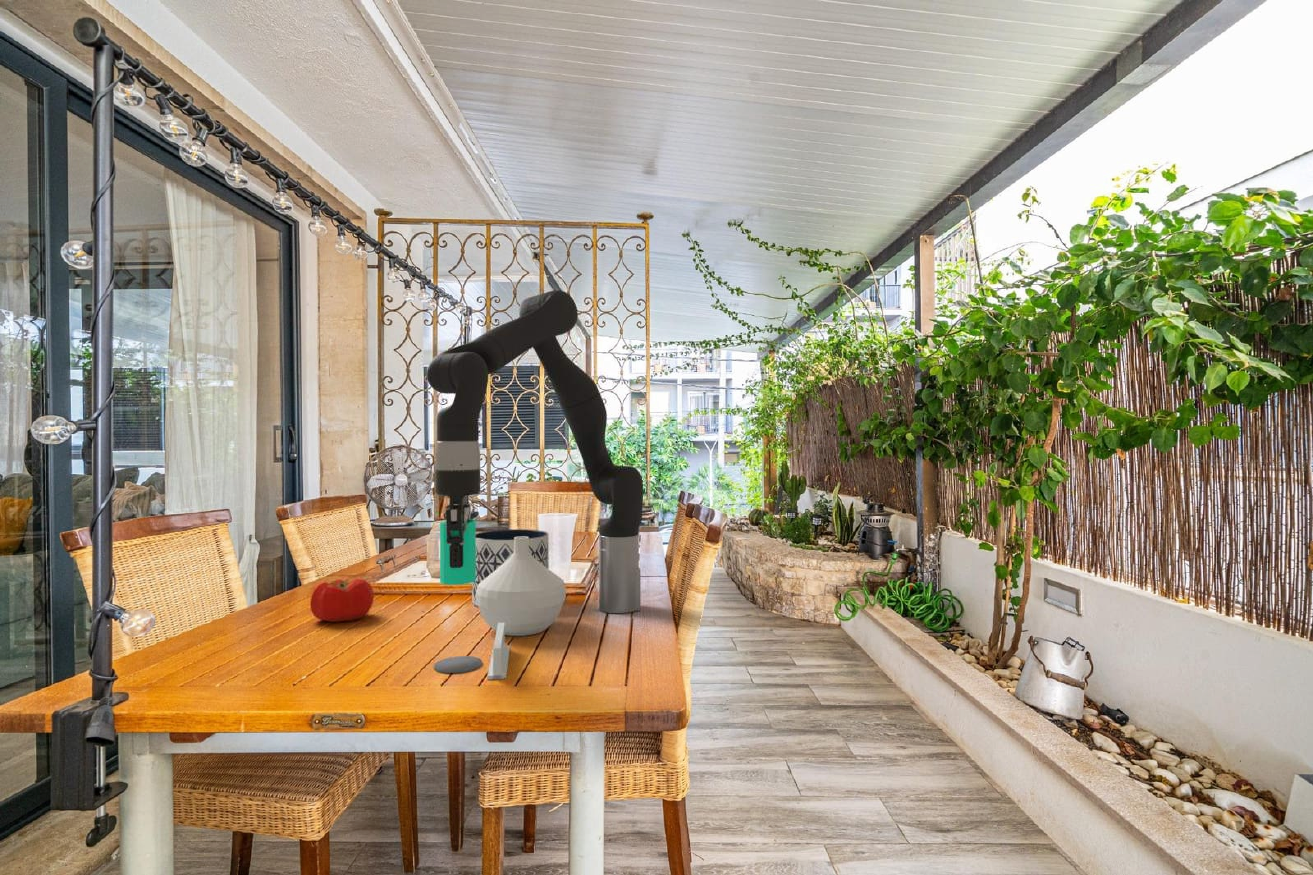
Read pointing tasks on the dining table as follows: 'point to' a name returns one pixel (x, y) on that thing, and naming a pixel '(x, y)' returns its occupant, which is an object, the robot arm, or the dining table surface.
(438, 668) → the coaster
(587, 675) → the dining table surface
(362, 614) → the tomato
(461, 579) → the candle
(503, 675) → the divider wall
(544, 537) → the planter
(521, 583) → the vase
